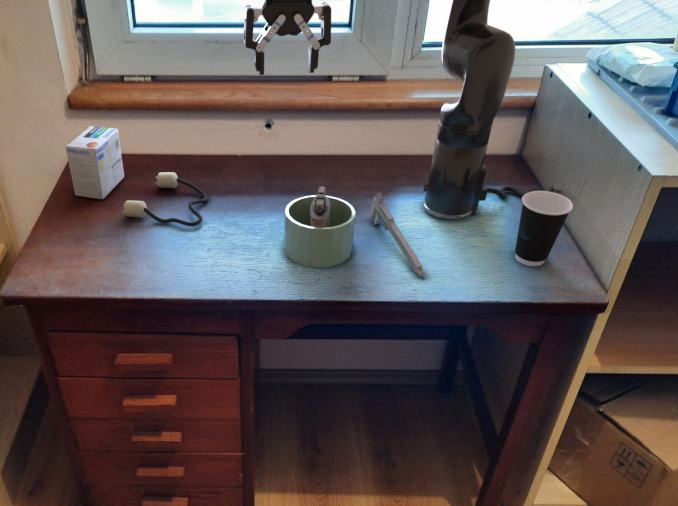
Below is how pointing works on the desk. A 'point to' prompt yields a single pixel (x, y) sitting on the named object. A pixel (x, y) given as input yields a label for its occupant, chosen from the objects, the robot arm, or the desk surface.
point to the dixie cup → (540, 225)
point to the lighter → (320, 210)
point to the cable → (164, 182)
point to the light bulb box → (95, 162)
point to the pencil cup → (318, 233)
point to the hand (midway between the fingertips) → (286, 72)
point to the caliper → (394, 231)
